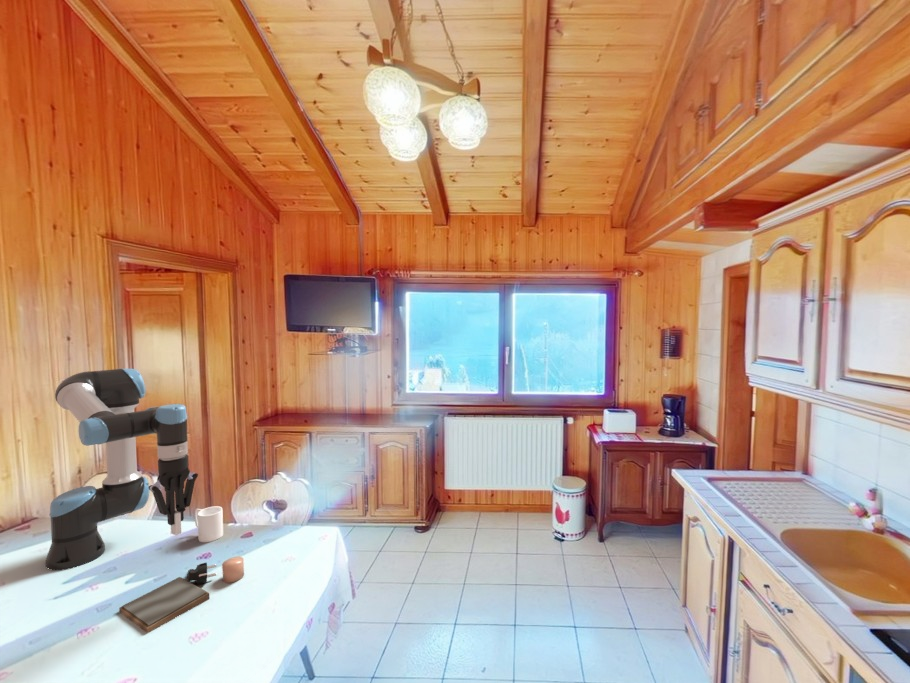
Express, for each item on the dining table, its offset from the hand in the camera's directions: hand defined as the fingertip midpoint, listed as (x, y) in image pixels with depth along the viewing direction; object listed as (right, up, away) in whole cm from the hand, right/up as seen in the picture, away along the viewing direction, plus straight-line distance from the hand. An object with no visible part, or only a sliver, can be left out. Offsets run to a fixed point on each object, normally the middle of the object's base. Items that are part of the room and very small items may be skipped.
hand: (176, 533), depth 123 cm
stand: (+1, -19, -5) cm, 20 cm away
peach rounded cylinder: (+13, -18, +8) cm, 24 cm away
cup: (-11, -17, +34) cm, 40 cm away
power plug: (-1, -18, +13) cm, 22 cm away
